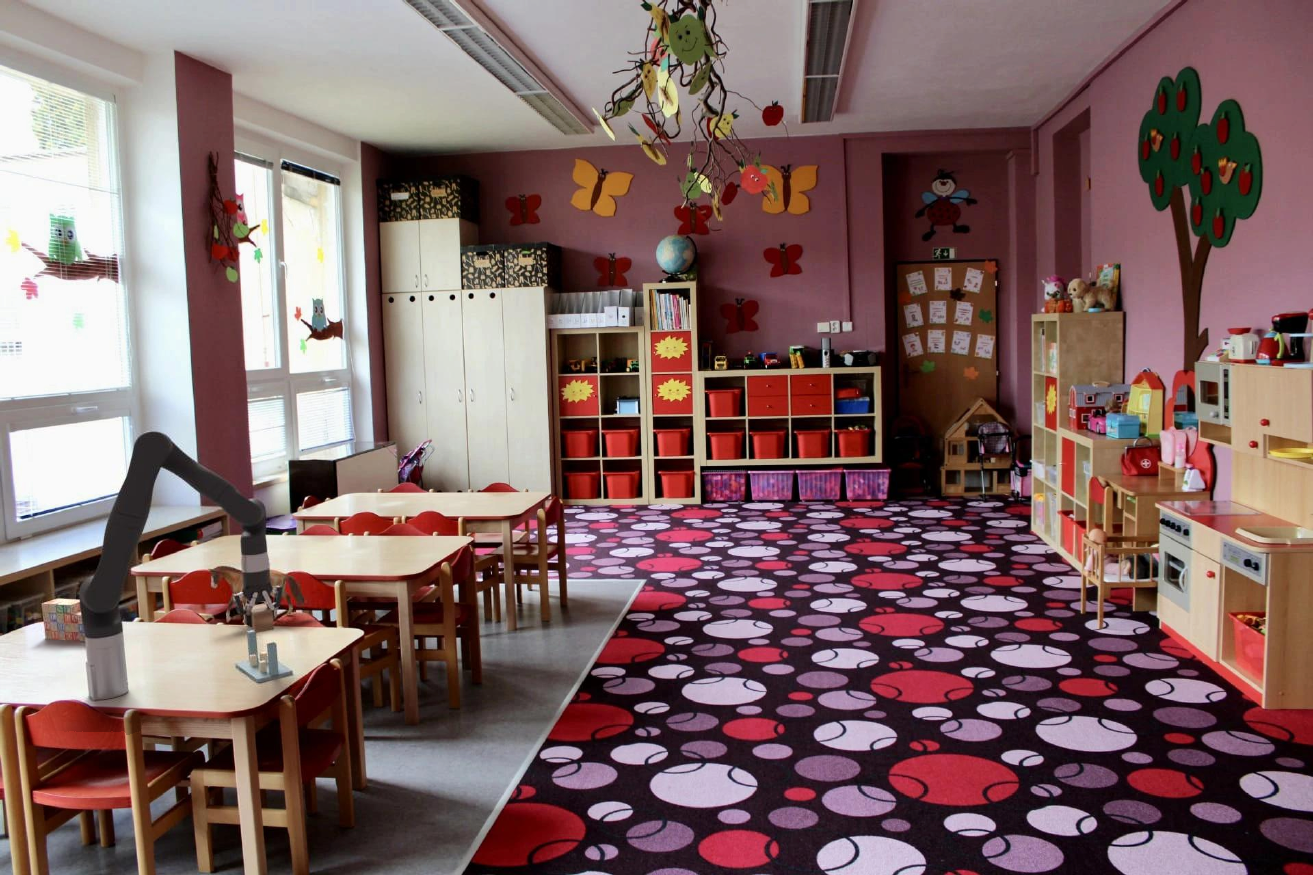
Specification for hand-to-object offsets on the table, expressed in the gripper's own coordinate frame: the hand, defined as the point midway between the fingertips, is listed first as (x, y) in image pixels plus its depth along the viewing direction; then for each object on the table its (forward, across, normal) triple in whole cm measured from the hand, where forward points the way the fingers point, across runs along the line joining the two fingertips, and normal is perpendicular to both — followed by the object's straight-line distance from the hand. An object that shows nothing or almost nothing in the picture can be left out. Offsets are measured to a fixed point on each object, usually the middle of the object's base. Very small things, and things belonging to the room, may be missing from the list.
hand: (260, 624), depth 286 cm
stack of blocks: (+14, +34, -80) cm, 88 cm away
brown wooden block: (+1, 0, 0) cm, 1 cm away
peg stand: (+14, 0, 0) cm, 14 cm away
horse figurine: (+14, -17, -52) cm, 56 cm away
